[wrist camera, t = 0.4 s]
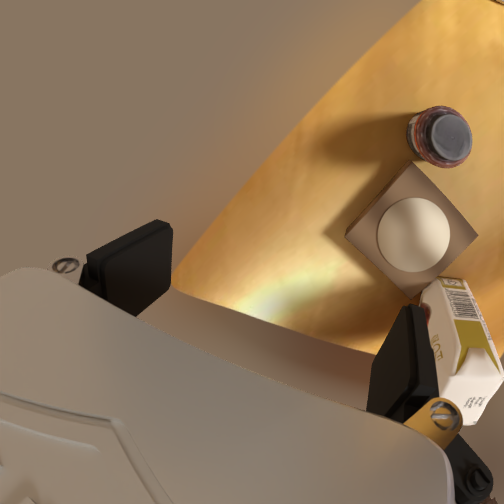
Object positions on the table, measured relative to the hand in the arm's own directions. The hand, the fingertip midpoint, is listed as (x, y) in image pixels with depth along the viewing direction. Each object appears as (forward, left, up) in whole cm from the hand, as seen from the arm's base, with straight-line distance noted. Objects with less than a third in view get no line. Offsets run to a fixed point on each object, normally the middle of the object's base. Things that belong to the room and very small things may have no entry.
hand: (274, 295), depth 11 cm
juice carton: (+2, +21, -28) cm, 35 cm away
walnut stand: (-1, +10, -28) cm, 30 cm away
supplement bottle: (-11, +4, -28) cm, 31 cm away
